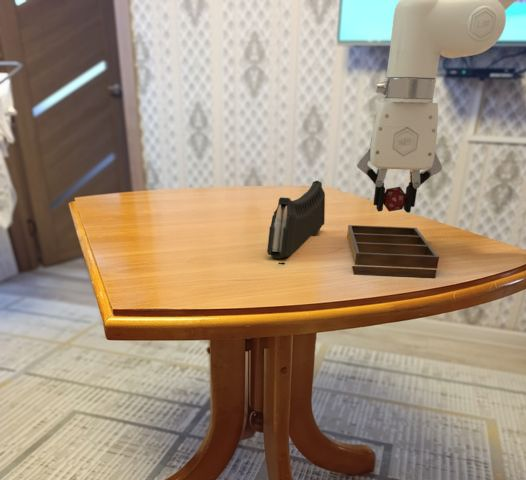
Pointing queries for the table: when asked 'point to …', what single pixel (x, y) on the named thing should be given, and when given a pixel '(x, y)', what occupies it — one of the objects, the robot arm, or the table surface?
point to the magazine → (296, 222)
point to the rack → (391, 251)
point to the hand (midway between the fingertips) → (393, 209)
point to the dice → (394, 199)
